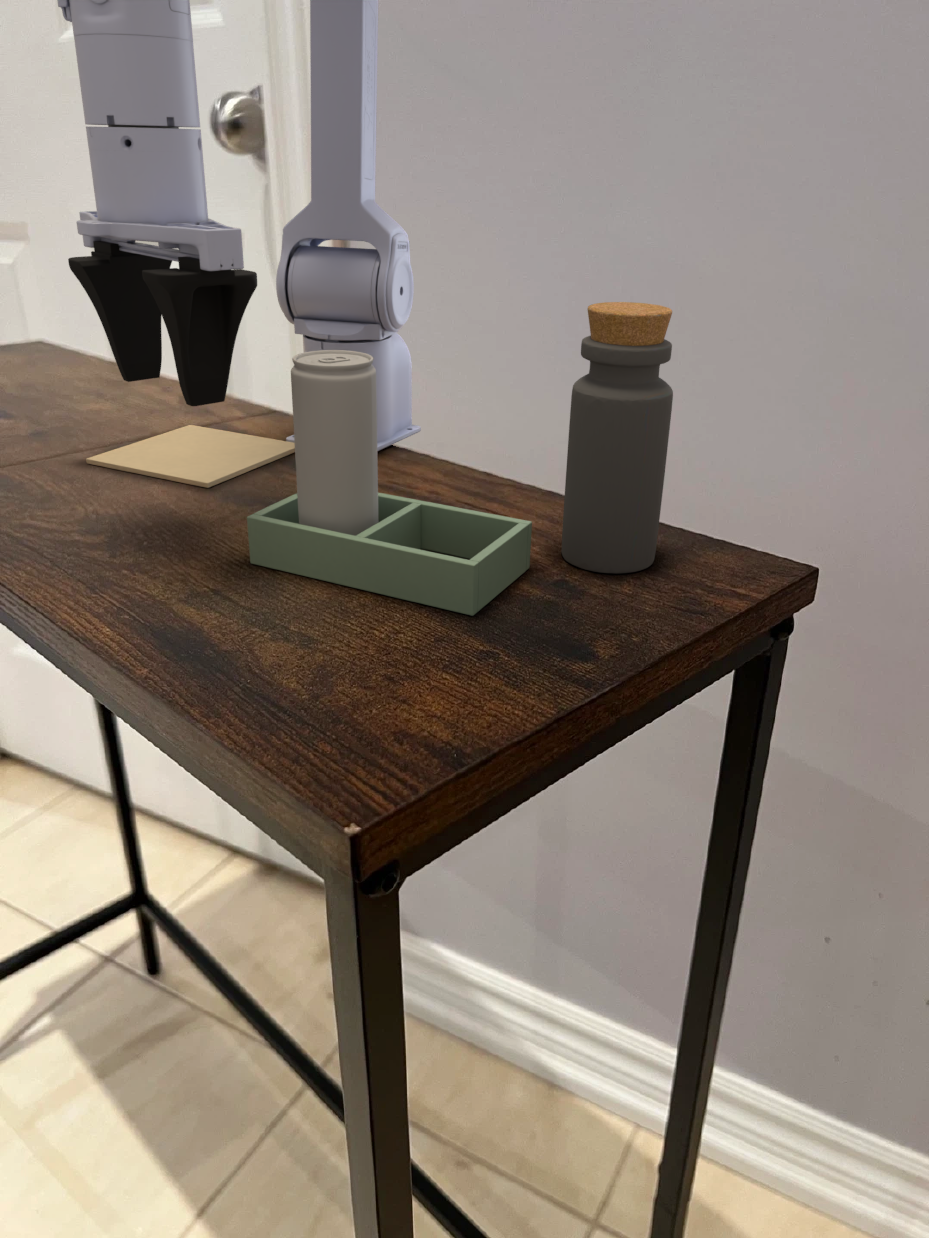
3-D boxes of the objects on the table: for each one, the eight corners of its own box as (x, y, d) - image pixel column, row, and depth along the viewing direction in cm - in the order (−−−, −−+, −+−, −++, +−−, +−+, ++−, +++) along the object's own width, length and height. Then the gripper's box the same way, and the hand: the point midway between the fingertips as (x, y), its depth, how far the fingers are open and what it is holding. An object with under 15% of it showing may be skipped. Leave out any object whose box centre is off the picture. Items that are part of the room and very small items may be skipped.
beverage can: (286, 550, 61) (274, 354, 56) (353, 535, 64) (347, 346, 59) (326, 576, 58) (317, 370, 53) (394, 558, 61) (392, 360, 55)
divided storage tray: (323, 524, 66) (321, 481, 64) (530, 567, 60) (532, 521, 58) (249, 563, 59) (246, 516, 58) (472, 616, 53) (474, 565, 52)
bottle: (608, 533, 65) (629, 297, 59) (674, 561, 61) (705, 310, 55) (541, 551, 62) (555, 304, 56) (606, 582, 58) (629, 319, 51)
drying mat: (190, 429, 86) (190, 424, 86) (303, 448, 82) (303, 444, 81) (86, 463, 77) (85, 458, 77) (208, 488, 72) (207, 482, 72)
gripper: (12, 125, 53) (52, 377, 59) (136, 126, 44) (169, 427, 50) (134, 128, 58) (161, 363, 64) (271, 130, 48) (287, 406, 54)
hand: (172, 390), depth 57 cm, fingers open, 7 cm apart
